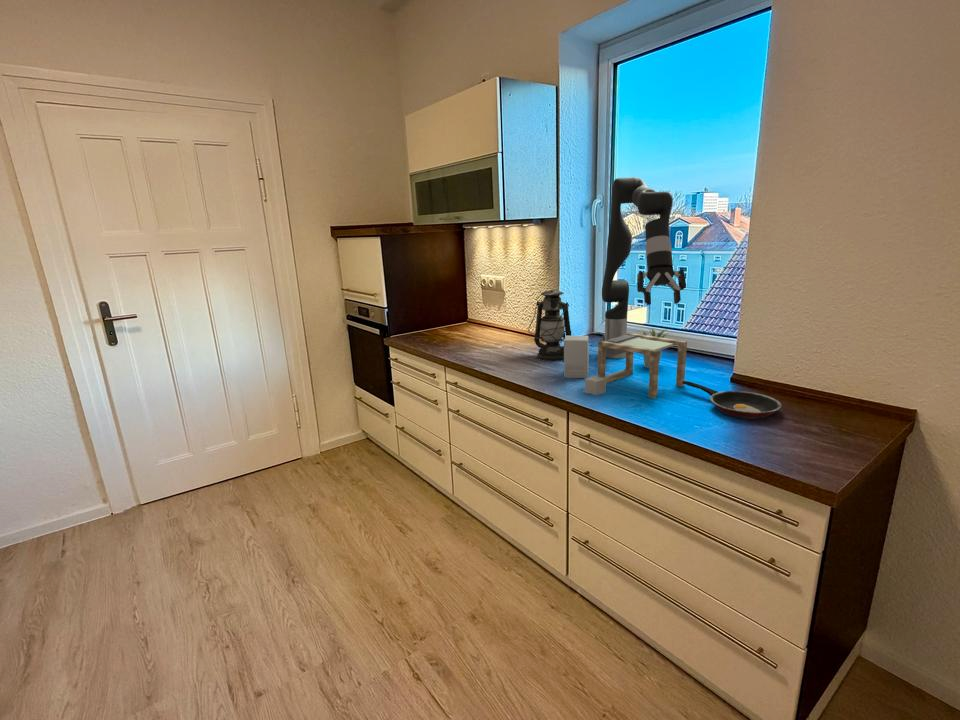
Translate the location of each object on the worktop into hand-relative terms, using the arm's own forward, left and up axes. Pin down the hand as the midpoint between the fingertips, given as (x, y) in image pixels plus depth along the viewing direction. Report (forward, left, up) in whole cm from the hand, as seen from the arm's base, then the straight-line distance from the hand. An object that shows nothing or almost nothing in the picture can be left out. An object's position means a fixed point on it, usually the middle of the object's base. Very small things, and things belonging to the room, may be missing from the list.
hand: (662, 304), depth 149 cm
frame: (-13, +9, -31) cm, 35 cm away
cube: (-20, -8, -32) cm, 38 cm away
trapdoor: (-14, +9, -20) cm, 27 cm away
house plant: (-22, +33, -32) cm, 51 cm away
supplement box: (-38, +4, -32) cm, 49 cm away
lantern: (-63, +15, -32) cm, 72 cm away
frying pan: (+16, +10, -32) cm, 37 cm away
